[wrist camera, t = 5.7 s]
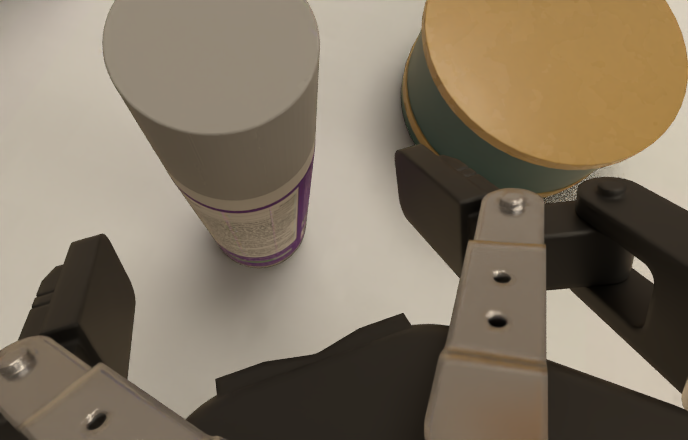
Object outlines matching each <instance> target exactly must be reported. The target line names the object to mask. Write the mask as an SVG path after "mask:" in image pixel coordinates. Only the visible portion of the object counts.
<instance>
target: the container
mask: <svg viewBox="0 0 688 440" xmlns="http://www.w3.org/2000/svg"><path fill="white" fill-rule="evenodd" d="M102 45H103V56H104V61H105V65H106V68H107V71H108V74H109V76H110V78H111V80H112V82H113V84H114V86H115V87H116V89H117V91H118V92H119V94H120V95H121V97H122V99H123V100H124V102H125V104H126V105H127V107H128V108H129V110H130V112H131V113H132V115H133V117H134V118H135V120H136V122H137V123H138V125H139V126H140V128H141V130H142V131H143V133H144V135H145V136H146V138H147V139H148V141H149V143H150V144H151V146H152V148H153V149H154V151H155V152H156V154H157V156H158V157H159V159H160V161H161V162H162V164H163V165H164V167H165V169H166V170H167V172H168V174H169V175H170V177H171V179H172V180H173V182H174V183H175V184H176V186H177V187H178V189H179V190H180V191H181V193H182V194H183V196H184V197H185V199H186V200H187V201H188V203H189V204H190V206H191V207H192V208H193V210H194V211H195V213H196V214H197V215H198V217H199V218H200V220H201V221H202V222H203V224H204V225H205V227H206V228H207V230H208V231H209V232H210V234H211V235H212V237H213V238H214V239H215V241H216V242H217V244H218V245H219V246H220V248H221V249H222V250H223V251H224V253H225V254H226V255H227V256H228V257H230V258H231V259H232V260H234V261H235V262H237V263H239V264H242V265H245V266H248V267H254V268H263V267H270V266H273V265H276V264H279V263H281V262H283V261H284V260H286V259H287V258H289V257H290V256H291V255H292V254H293V253H294V252H295V251H296V250H297V248H298V247H299V245H300V244H301V241H302V239H303V237H304V233H305V228H306V221H307V212H308V204H309V195H310V186H311V178H312V169H313V160H314V152H315V132H316V113H317V92H318V72H319V52H320V39H319V31H318V26H317V22H316V19H315V16H314V14H313V11H312V9H311V7H310V5H309V4H308V2H307V0H115V1H114V3H113V5H112V7H111V9H110V11H109V13H108V16H107V19H106V22H105V26H104V31H103V42H102Z"/></svg>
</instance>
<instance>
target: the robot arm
mask: <svg viewBox="0 0 688 440" xmlns="http://www.w3.org/2000/svg"><path fill="white" fill-rule="evenodd" d="M395 166H396V175H397V184H398V193H399V201H400V205H401V208H402V211H403V213H404V215H405V217H406V218H407V220H408V221H409V222H410V223H411V224H412V225H413V226H414V228H415V229H416V230H417V231H418V232H419V233H420V234H421V235H422V237H423V238H424V239H425V240H426V241H427V242H428V243H429V244H430V245H431V247H432V248H433V249H434V250H435V251H436V252H437V253H438V254H439V256H440V257H441V258H442V259H443V260H444V261H445V262H446V263H447V265H448V266H449V267H450V268H451V269H452V270H453V271H454V272H455V273H456V275H457V276H458V277H459V278H460V281H459V286H458V290H457V295H456V299H455V304H454V308H453V313H452V318H451V322H450V326H446V325H438V324H418V325H411V324H410V323H409V321H408V319H407V318H406V316H405V315H404V313H401V314H398V315H396V316H393V317H390V318H387V319H384V320H381V321H379V322H376V323H373V324H370V325H367V326H364V327H362V328H359V329H357V330H356V331H354V332H352V333H351V334H349V335H347V336H346V337H344V338H342V339H341V340H339V341H337V342H336V343H334V344H332V345H331V346H329V347H327V348H326V349H324V350H322V351H321V352H319V353H316V354H313V355H307V356H300V357H294V358H287V359H280V360H273V361H267V362H262V363H260V364H257V365H254V366H251V367H248V368H245V369H243V370H240V371H237V372H234V373H231V374H228V375H226V376H223V377H220V378H217V379H215V380H216V390H217V395H216V396H214V397H213V398H211V399H210V400H208V401H207V402H205V403H204V404H203V405H201V406H200V407H199V408H198V409H196V410H195V411H194V412H193V413H192V414H191V415H189V416H188V417H187V418H186V420H185V419H184V418H182V417H181V416H179V415H178V414H176V413H175V412H173V411H172V410H171V409H169V408H168V407H166V406H165V405H163V404H162V403H160V402H159V401H157V400H156V399H155V398H153V397H152V396H150V395H149V394H147V393H146V392H144V391H143V390H142V389H140V388H139V387H137V386H136V385H134V384H133V383H131V382H130V381H128V380H127V378H128V369H129V359H130V350H131V341H132V331H133V322H134V313H135V303H136V302H135V294H134V290H133V287H132V284H131V282H130V279H129V277H128V275H127V274H126V272H125V270H124V268H123V266H122V264H121V262H120V260H119V258H118V256H117V254H116V252H115V250H114V248H113V246H112V244H111V242H110V240H109V239H108V237H107V236H106V235H105V234H99V235H96V236H92V237H89V238H85V239H82V240H78V241H75V242H72V243H71V245H70V247H69V250H68V253H67V256H66V259H65V262H64V264H63V265H60V266H56V267H55V268H54V269H53V270H52V271H51V272H50V273H49V274H48V275H47V276H46V277H45V279H44V280H43V281H42V282H41V285H40V287H39V290H38V292H37V295H36V296H37V298H35V300H34V302H33V304H32V309H31V310H30V312H29V314H28V317H27V319H26V322H25V324H24V327H23V329H22V332H21V334H20V337H19V339H18V341H16V342H14V343H12V344H10V345H8V346H7V347H5V348H3V349H2V350H0V440H688V211H687V210H685V209H683V208H681V207H680V206H678V205H676V204H674V203H672V202H670V201H668V200H667V199H665V198H663V197H661V196H659V195H657V194H656V193H654V192H652V191H650V190H648V189H646V188H644V187H643V186H641V185H639V184H637V183H635V182H633V181H630V180H626V179H622V178H615V177H599V178H593V179H589V180H586V181H584V182H582V183H581V184H580V185H579V186H578V189H577V198H576V200H574V201H565V202H556V203H546V204H544V200H543V199H542V197H541V196H539V195H538V194H536V193H534V192H532V191H529V190H526V189H520V188H505V189H499V188H498V187H497V186H495V185H494V184H492V183H491V182H489V181H488V180H487V179H485V178H484V177H482V176H481V175H480V174H477V172H475V171H474V170H473V169H471V168H468V166H467V165H466V164H464V163H463V162H461V161H460V160H458V159H456V158H452V157H449V156H446V155H439V156H438V155H436V154H435V153H434V152H432V151H431V150H430V149H428V148H427V147H426V146H424V145H423V144H418V145H414V146H411V147H407V148H404V149H400V150H397V151H396V152H395ZM634 256H635V257H637V258H638V259H639V260H641V261H642V262H643V263H645V264H646V265H647V267H648V268H649V269H650V271H651V273H652V275H653V278H654V284H653V283H652V282H650V281H649V280H648V279H646V278H645V277H643V276H642V275H641V274H639V273H638V272H637V271H635V270H634V269H633V268H632V264H633V259H634ZM567 288H570V289H571V291H572V292H573V293H574V294H576V295H577V296H578V297H579V298H580V299H581V300H582V301H583V302H584V303H585V304H586V305H587V306H588V307H589V308H590V309H592V310H593V311H594V312H595V313H596V314H597V315H598V316H599V317H600V318H601V319H602V320H603V321H604V322H605V323H607V324H608V325H609V326H610V327H611V328H612V329H613V330H614V331H615V332H616V333H617V334H618V335H619V336H620V337H622V338H623V339H624V340H625V341H626V342H627V343H628V344H629V345H630V346H631V347H632V348H633V349H634V350H635V351H637V352H638V353H639V354H640V355H641V356H642V357H643V358H644V359H645V360H646V361H647V362H648V363H649V364H650V365H651V366H653V367H654V368H655V369H656V370H657V371H658V372H659V373H660V374H661V375H662V376H663V377H664V378H665V379H666V380H668V381H669V382H670V383H671V384H672V385H673V386H674V387H675V388H676V389H677V390H678V391H679V392H680V393H681V394H682V405H683V407H684V409H682V408H680V407H677V406H675V405H672V404H670V403H667V402H664V401H661V400H659V399H656V398H653V397H650V396H647V395H645V394H642V393H639V392H636V391H633V390H631V389H628V388H625V387H622V386H620V385H617V384H614V383H611V382H608V381H606V380H603V379H600V378H597V377H594V376H592V375H589V374H586V373H583V372H581V371H578V370H575V369H572V368H569V367H567V366H564V365H561V364H558V363H555V362H553V361H550V360H547V359H546V290H556V289H567Z"/></svg>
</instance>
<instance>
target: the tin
mask: <svg viewBox="0 0 688 440" xmlns="http://www.w3.org/2000/svg"><path fill="white" fill-rule="evenodd" d="M687 80H688V60H687V53H686V47H685V43H684V40H683V36H682V32H681V30H680V28H679V25H678V23H677V20H676V18H675V16H674V14H673V13H672V11H671V9H670V7H669V5H668V4H667V2H666V1H665V0H426V2H425V6H424V11H423V16H422V29H421V31H420V34H419V36H418V37H417V39H416V41H415V43H414V45H413V46H412V49H411V51H410V54H409V57H408V59H407V62H406V65H405V70H404V75H403V81H402V88H401V103H402V111H403V115H404V120H405V123H406V126H407V128H408V131H409V134H410V136H411V138H412V140H413V141H414V143H415V145H418V144H423V145H424V146H426V147H427V148H428V149H430V150H431V151H432V152H434V153H435V154H436V155H438V156H439V155H446V156H449V157H452V158H456V159H458V160H460V161H461V162H463V163H464V164H466V165H467V166H468V168H471V169H473V170H474V171H475V172H477V174H480V175H481V176H482V177H484V178H485V179H487V180H488V181H489V182H491V183H492V184H494V185H495V186H497V187H498V188H499V189H505V188H520V189H526V190H529V191H532V192H534V193H536V194H538V195H539V196H541V197H542V198H545V197H549V196H551V195H554V194H557V193H560V192H562V191H564V190H566V189H568V188H570V187H572V186H574V185H575V184H577V183H579V182H580V181H582V180H583V179H585V178H586V177H588V176H589V175H590V174H591V173H592V172H594V171H595V170H597V169H599V168H602V167H606V166H609V165H613V164H616V163H619V162H621V161H623V160H626V159H628V158H630V157H632V156H634V155H636V154H637V153H639V152H641V151H642V150H644V149H645V148H647V147H648V146H650V145H651V144H653V143H654V142H655V141H656V140H657V139H658V138H659V137H660V136H661V135H663V134H664V133H665V131H666V130H667V129H668V127H669V126H670V125H671V123H672V122H673V121H674V119H675V117H676V115H677V113H678V111H679V109H680V108H681V105H682V102H683V99H684V96H685V93H686V86H687Z"/></svg>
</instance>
